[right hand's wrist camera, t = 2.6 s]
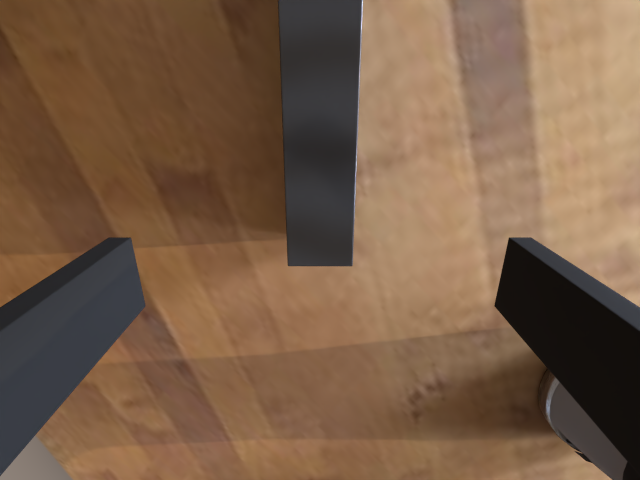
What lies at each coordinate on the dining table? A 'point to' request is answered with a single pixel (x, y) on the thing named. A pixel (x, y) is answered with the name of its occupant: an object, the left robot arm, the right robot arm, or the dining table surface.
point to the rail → (320, 127)
